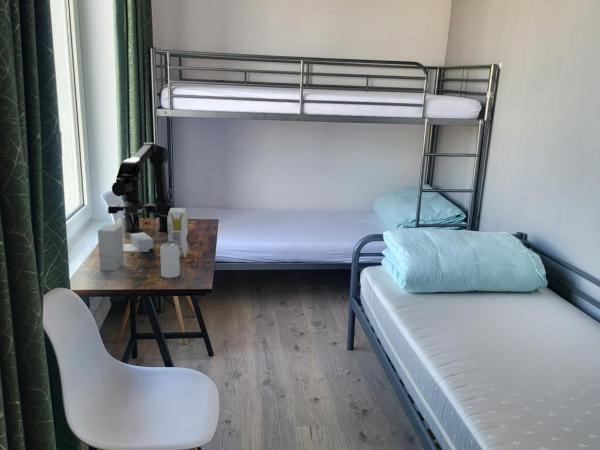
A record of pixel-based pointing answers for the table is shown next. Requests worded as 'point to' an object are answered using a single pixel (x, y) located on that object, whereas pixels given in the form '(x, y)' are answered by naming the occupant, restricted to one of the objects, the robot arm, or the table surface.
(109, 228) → the skincare box
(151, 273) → the table surface
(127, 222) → the supplement bottle
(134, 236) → the skincare box
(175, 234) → the juice carton
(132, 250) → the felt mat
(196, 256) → the table surface
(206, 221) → the table surface
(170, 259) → the can
